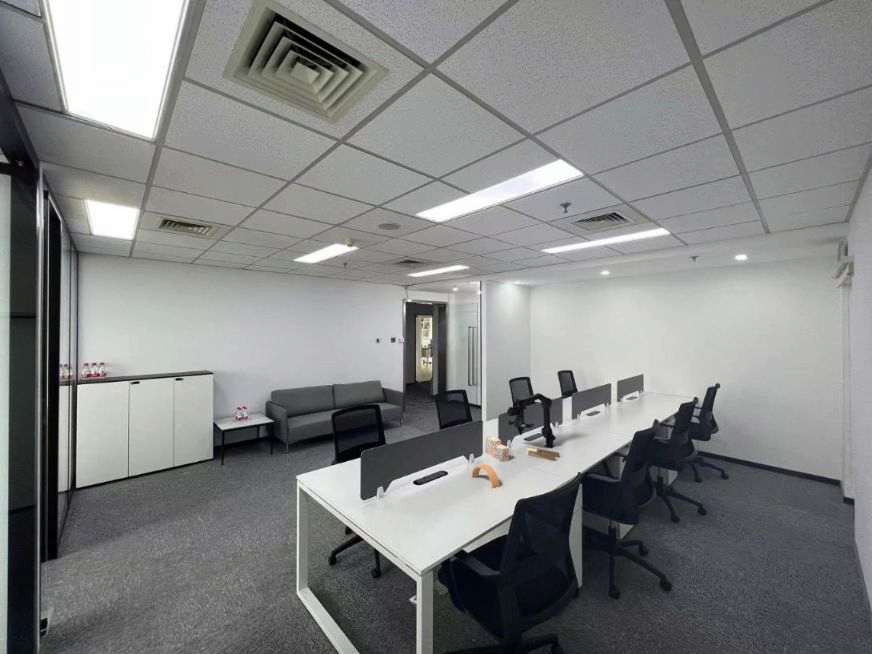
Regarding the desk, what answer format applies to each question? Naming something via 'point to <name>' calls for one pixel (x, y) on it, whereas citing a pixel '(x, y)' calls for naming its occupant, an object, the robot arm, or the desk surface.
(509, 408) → the robot arm
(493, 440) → the stack of blocks
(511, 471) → the desk surface
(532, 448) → the block
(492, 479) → the arch
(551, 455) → the walnut chute
